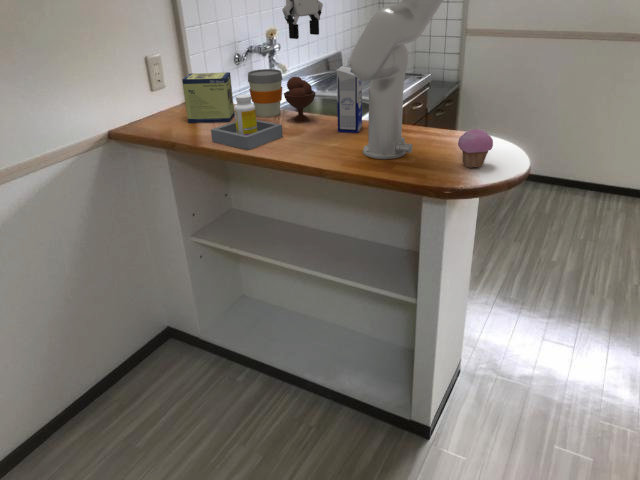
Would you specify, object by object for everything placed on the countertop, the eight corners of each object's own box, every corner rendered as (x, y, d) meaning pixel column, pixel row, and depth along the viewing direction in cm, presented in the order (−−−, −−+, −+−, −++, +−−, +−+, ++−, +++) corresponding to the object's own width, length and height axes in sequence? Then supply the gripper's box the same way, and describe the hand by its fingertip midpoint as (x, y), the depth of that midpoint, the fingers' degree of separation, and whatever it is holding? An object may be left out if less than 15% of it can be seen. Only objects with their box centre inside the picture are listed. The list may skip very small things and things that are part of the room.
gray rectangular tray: (282, 136, 175) (282, 124, 173) (248, 150, 164) (246, 137, 162) (247, 129, 184) (246, 117, 182) (212, 141, 173) (210, 129, 171)
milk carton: (342, 126, 184) (341, 65, 175) (362, 127, 182) (362, 65, 173) (337, 132, 178) (336, 69, 169) (357, 133, 176) (357, 69, 167)
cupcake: (484, 160, 150) (488, 124, 145) (494, 171, 142) (498, 134, 137) (452, 161, 150) (455, 126, 145) (460, 172, 142) (463, 135, 137)
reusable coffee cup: (269, 107, 210) (266, 67, 203) (291, 112, 202) (289, 71, 195) (244, 114, 202) (240, 73, 195) (265, 120, 194) (262, 77, 187)
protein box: (230, 122, 193) (225, 77, 186) (187, 123, 193) (181, 79, 186) (235, 114, 202) (230, 71, 195) (194, 115, 203) (187, 73, 195)
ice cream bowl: (303, 125, 186) (301, 81, 179) (279, 120, 192) (276, 77, 185) (322, 118, 194) (321, 75, 186) (298, 114, 200) (296, 72, 193)
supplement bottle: (262, 134, 174) (258, 94, 168) (249, 140, 169) (245, 99, 163) (245, 132, 178) (241, 92, 172) (232, 137, 173) (228, 97, 167)
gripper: (310, -29, 162) (312, 32, 170) (271, -26, 150) (275, 39, 158) (330, -29, 158) (331, 33, 166) (292, -26, 146) (295, 41, 154)
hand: (304, 36), depth 162 cm, fingers open, 9 cm apart
